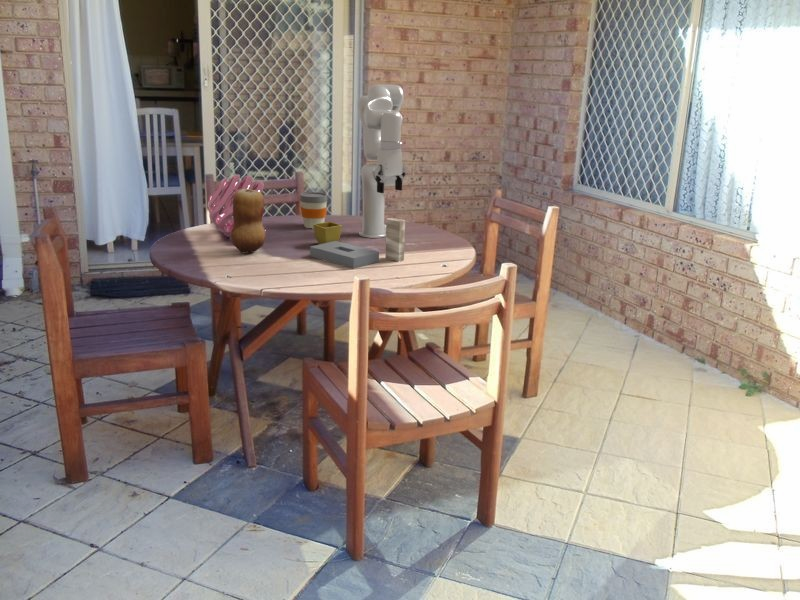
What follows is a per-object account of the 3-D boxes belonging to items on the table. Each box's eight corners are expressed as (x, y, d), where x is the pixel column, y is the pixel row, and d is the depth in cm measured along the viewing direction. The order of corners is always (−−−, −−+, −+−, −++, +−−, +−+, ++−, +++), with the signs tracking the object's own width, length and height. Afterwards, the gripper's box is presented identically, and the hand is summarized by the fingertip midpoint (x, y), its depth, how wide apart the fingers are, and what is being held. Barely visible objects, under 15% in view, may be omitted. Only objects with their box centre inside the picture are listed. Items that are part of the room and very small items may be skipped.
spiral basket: (289, 187, 325) (235, 152, 315) (282, 215, 301) (224, 178, 292) (256, 233, 336) (203, 200, 327) (247, 263, 313) (190, 229, 303)
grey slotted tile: (335, 250, 300) (335, 240, 298) (378, 261, 285) (379, 251, 284) (310, 256, 290) (310, 246, 288) (353, 268, 275) (353, 258, 274)
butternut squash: (263, 256, 288) (261, 193, 280) (229, 256, 287) (225, 192, 279) (267, 247, 301) (265, 187, 293) (234, 247, 300) (231, 186, 292)
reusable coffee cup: (323, 230, 333) (322, 197, 328) (296, 228, 335) (296, 196, 330) (331, 224, 344) (330, 193, 340) (305, 223, 347) (305, 191, 342)
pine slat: (390, 257, 292) (391, 217, 287) (403, 260, 288) (405, 220, 283) (385, 258, 290) (386, 218, 285) (398, 261, 285) (399, 221, 280)
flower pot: (324, 249, 301) (324, 227, 298) (312, 244, 307) (312, 223, 304) (342, 246, 306) (342, 225, 304) (330, 242, 313) (330, 221, 310)
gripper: (399, 143, 284) (398, 187, 289) (366, 146, 272) (366, 192, 277) (413, 145, 279) (412, 190, 284) (380, 148, 267) (380, 195, 272)
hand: (389, 191), depth 280 cm, fingers open, 9 cm apart
